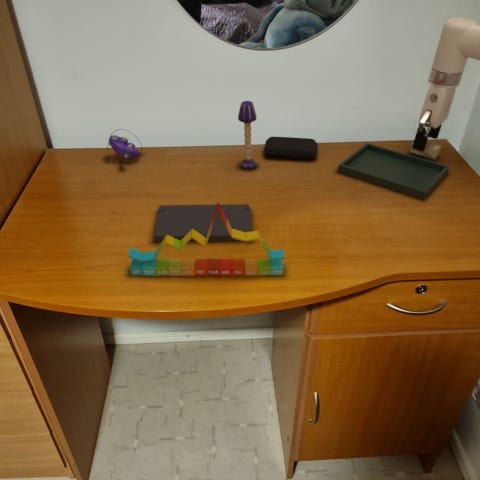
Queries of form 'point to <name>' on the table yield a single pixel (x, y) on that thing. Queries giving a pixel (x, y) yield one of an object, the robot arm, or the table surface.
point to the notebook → (201, 221)
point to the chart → (201, 267)
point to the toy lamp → (247, 132)
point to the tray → (394, 170)
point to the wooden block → (427, 152)
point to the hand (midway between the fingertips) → (424, 143)
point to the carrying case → (291, 148)
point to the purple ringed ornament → (123, 147)
